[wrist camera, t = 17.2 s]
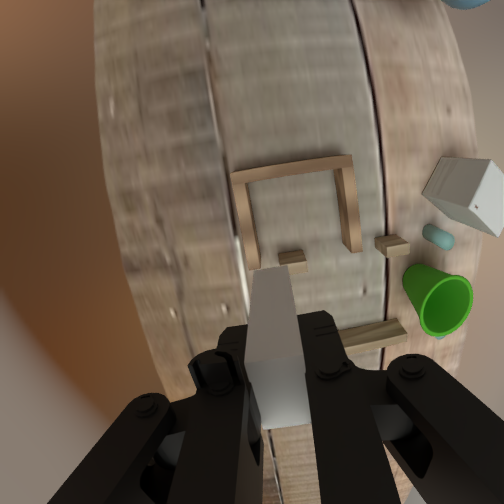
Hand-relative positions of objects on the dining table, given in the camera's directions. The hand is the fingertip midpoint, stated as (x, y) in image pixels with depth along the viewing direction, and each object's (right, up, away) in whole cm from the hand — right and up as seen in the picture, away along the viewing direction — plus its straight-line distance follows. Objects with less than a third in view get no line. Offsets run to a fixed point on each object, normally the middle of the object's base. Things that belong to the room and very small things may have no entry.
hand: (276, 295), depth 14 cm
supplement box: (+29, +12, +27) cm, 41 cm away
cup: (+25, -2, +31) cm, 40 cm away
